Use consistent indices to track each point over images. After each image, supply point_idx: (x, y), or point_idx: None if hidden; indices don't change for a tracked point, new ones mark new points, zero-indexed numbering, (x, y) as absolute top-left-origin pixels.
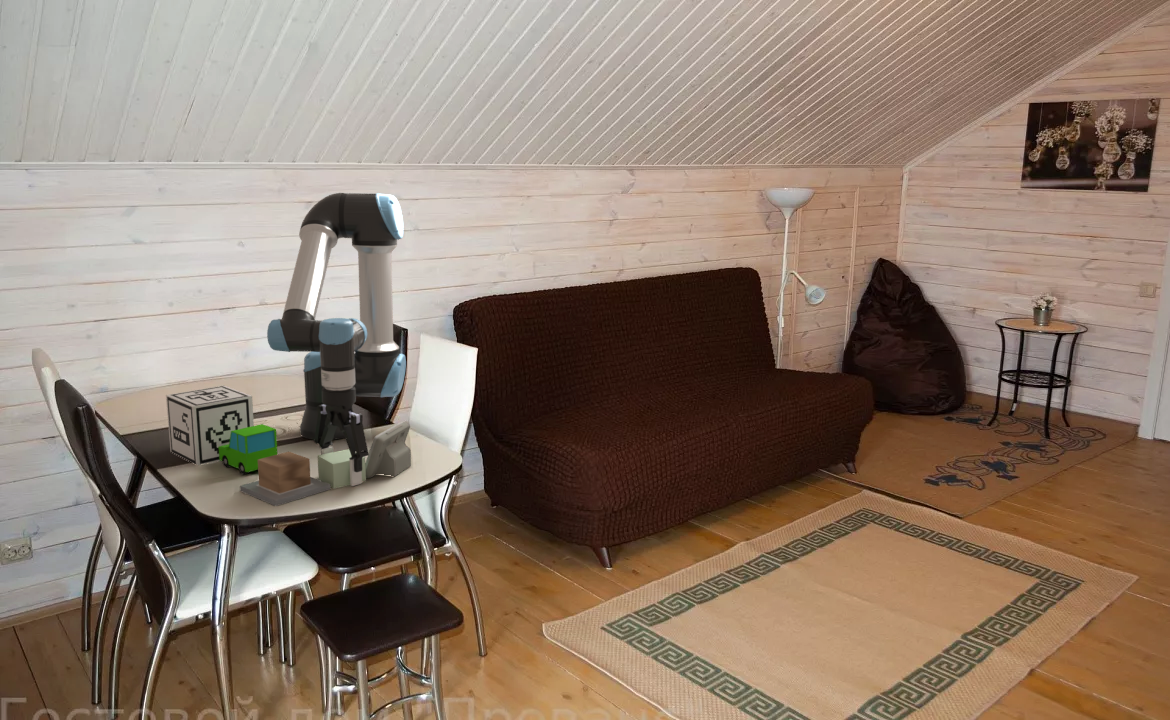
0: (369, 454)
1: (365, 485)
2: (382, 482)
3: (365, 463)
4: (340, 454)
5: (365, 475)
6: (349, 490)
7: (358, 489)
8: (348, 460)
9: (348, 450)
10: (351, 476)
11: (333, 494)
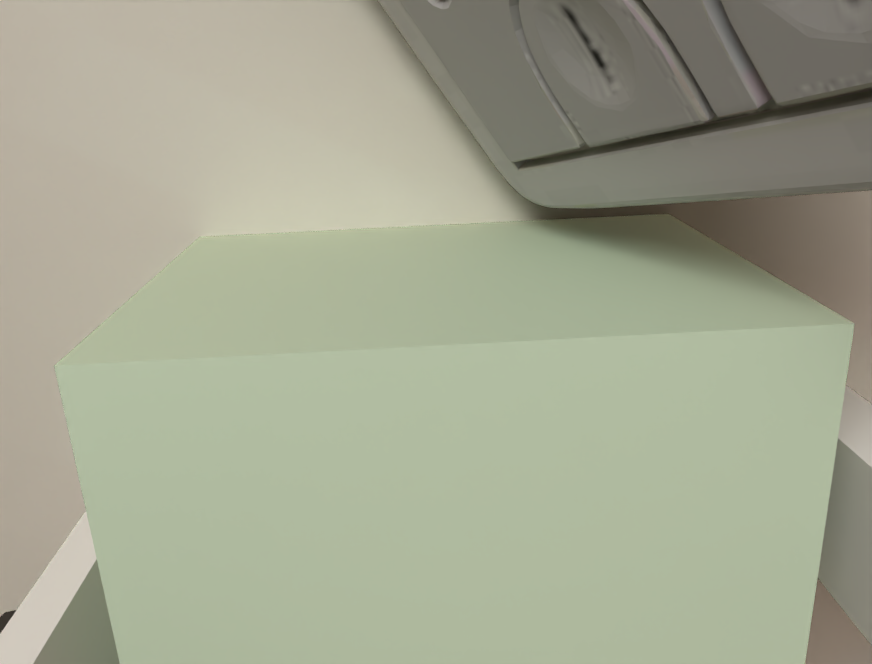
0: (836, 191)
1: (801, 286)
2: None
3: (629, 203)
4: (346, 638)
5: (695, 234)
6: None
7: None
8: (790, 652)
9: (166, 422)
10: None
11: None
